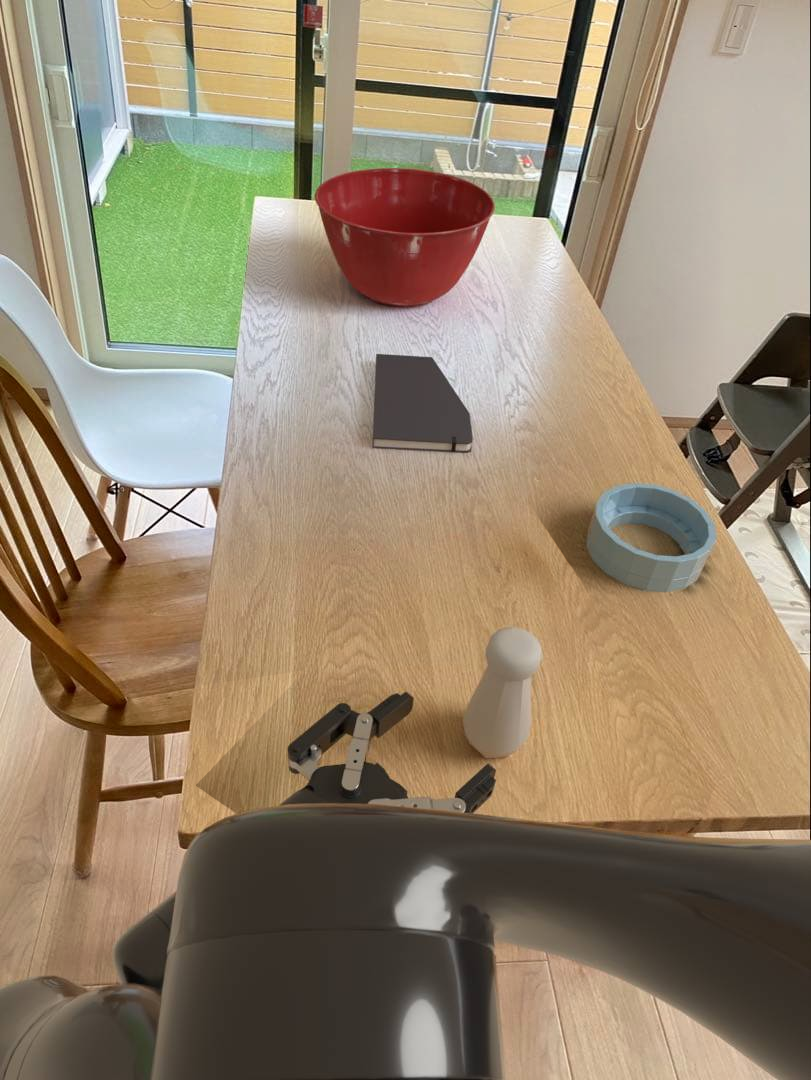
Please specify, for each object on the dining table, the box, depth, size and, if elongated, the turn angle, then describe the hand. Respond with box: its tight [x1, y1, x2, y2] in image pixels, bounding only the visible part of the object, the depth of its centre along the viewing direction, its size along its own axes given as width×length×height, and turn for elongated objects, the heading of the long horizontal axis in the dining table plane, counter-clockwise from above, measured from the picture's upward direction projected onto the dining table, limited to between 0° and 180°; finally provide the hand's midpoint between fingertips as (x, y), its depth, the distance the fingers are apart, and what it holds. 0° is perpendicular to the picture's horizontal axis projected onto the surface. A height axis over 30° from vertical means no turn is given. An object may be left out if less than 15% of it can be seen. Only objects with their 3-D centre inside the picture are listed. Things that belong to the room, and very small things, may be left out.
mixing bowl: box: [314, 167, 496, 308], centre depth 128 cm, size 28×28×15 cm
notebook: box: [371, 353, 474, 454], centre depth 107 cm, size 13×2×21 cm
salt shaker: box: [462, 626, 543, 759], centre depth 64 cm, size 6×6×13 cm
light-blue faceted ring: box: [585, 482, 717, 593], centre depth 85 cm, size 13×13×6 cm
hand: (449, 735), depth 60 cm, fingers open, 8 cm apart
